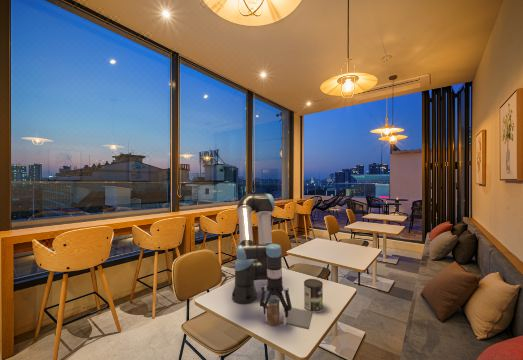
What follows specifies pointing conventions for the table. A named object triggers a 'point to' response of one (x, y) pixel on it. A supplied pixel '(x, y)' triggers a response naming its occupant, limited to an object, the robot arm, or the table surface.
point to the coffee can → (313, 295)
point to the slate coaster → (298, 318)
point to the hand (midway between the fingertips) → (276, 321)
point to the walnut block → (273, 312)
